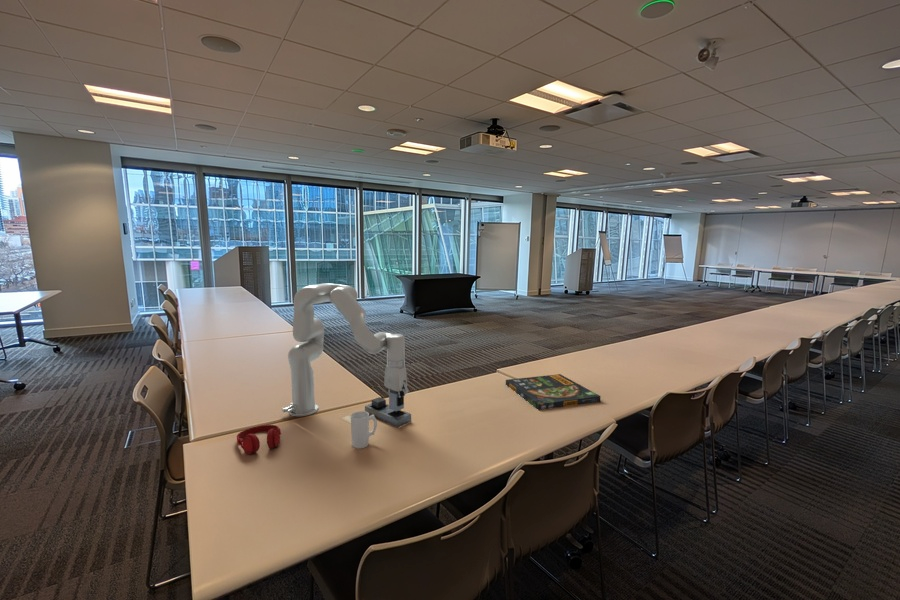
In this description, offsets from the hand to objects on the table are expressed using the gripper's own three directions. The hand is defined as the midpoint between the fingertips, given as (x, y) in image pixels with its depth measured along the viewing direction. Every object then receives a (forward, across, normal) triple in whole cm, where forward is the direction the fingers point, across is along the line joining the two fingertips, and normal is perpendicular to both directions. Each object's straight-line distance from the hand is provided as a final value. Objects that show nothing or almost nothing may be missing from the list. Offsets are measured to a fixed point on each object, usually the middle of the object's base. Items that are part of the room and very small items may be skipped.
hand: (396, 403), depth 164 cm
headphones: (+9, -26, -47) cm, 55 cm away
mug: (+8, +5, -21) cm, 23 cm away
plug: (+2, 0, 0) cm, 2 cm away
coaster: (+8, -15, -10) cm, 20 cm away
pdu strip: (+8, -6, 0) cm, 10 cm away
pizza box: (+9, +36, +76) cm, 85 cm away
